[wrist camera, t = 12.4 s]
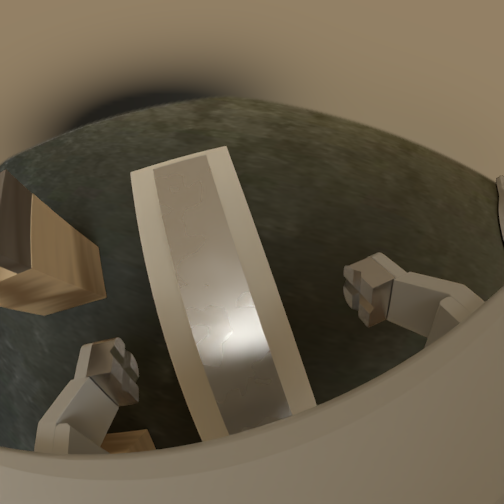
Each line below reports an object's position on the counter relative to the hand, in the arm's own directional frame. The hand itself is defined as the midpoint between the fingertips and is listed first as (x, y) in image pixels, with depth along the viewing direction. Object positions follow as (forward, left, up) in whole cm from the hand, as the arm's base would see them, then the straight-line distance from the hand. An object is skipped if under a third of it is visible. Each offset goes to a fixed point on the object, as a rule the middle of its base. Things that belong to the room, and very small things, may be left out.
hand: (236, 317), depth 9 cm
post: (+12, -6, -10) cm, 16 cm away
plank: (+1, +1, -10) cm, 10 cm away
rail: (0, +1, -9) cm, 9 cm away
